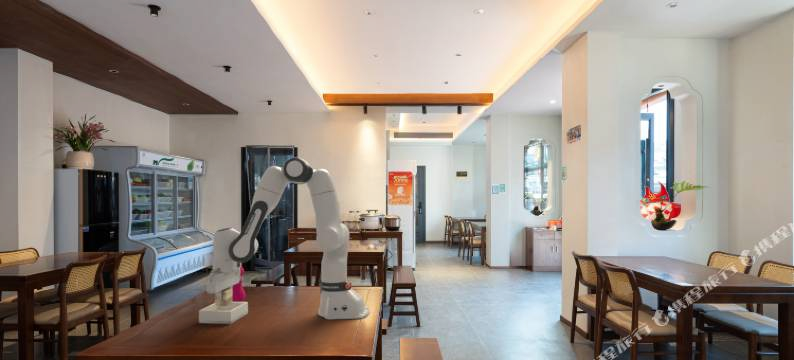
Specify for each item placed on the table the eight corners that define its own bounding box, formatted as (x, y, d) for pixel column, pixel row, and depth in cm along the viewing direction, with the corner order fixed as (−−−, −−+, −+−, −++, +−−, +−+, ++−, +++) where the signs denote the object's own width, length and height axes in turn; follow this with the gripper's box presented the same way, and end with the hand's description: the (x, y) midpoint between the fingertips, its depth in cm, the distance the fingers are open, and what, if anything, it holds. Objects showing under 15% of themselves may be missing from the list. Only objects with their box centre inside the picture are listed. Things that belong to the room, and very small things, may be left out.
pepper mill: (248, 303, 194) (248, 261, 195) (240, 308, 187) (240, 264, 187) (233, 303, 195) (233, 261, 195) (226, 307, 188) (225, 264, 188)
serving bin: (247, 313, 179) (247, 302, 179) (231, 323, 165) (231, 311, 165) (218, 312, 180) (218, 301, 180) (198, 322, 166) (198, 310, 167)
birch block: (232, 302, 175) (232, 288, 175) (226, 306, 170) (226, 291, 170) (221, 302, 176) (221, 288, 176) (215, 305, 171) (215, 291, 171)
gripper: (217, 271, 162) (217, 306, 162) (243, 262, 183) (242, 293, 182) (202, 270, 163) (202, 305, 163) (229, 261, 183) (229, 292, 183)
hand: (223, 298), depth 173 cm, fingers closed on birch block, 5 cm apart
